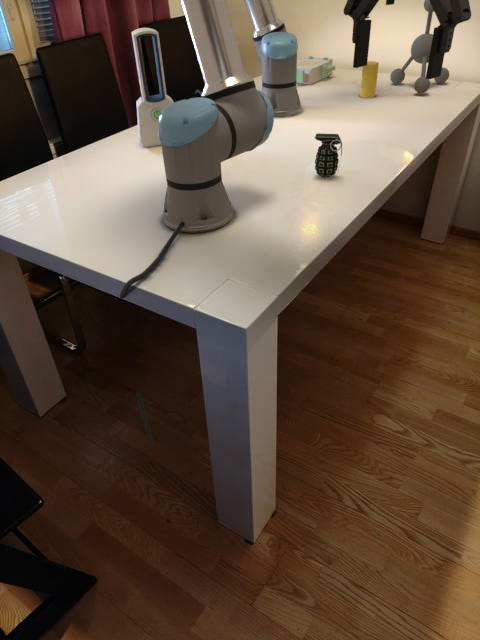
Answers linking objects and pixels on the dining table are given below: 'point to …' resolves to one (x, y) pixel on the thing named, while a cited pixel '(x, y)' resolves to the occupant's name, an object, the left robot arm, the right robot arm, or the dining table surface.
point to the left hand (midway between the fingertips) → (394, 71)
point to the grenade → (327, 155)
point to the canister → (369, 79)
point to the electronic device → (146, 104)
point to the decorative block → (313, 69)
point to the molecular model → (421, 57)
